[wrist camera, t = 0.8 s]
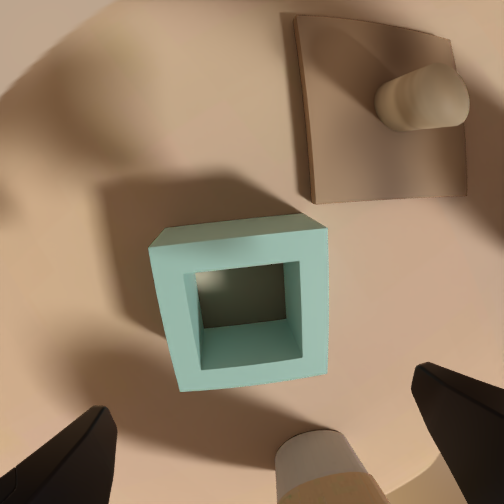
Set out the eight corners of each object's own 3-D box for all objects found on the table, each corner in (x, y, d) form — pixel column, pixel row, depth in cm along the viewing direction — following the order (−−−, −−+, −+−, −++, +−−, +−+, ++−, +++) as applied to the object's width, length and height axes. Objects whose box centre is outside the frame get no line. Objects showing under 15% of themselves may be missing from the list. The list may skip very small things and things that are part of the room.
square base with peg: (442, 43, 14) (495, 22, 9) (459, 194, 17) (517, 207, 12) (293, 21, 14) (320, -28, 9) (311, 202, 16) (350, 219, 11)
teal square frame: (302, 213, 16) (327, 228, 12) (307, 333, 18) (327, 373, 14) (165, 228, 16) (147, 247, 12) (186, 348, 18) (180, 391, 14)
